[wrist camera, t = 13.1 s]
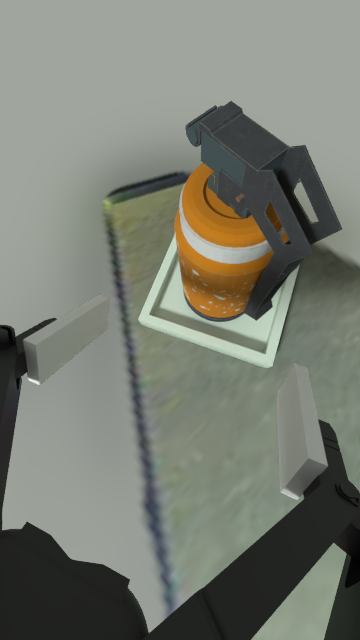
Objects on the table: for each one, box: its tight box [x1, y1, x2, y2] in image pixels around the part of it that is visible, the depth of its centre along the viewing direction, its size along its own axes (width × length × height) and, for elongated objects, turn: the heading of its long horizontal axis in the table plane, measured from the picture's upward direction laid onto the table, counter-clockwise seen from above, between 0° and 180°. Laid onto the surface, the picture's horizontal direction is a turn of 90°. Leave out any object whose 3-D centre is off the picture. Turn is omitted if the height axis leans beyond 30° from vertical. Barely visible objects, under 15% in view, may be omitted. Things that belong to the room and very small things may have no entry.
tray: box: [138, 235, 300, 369], centre depth 31 cm, size 16×14×2 cm
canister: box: [174, 101, 342, 322], centre depth 22 cm, size 9×11×20 cm
